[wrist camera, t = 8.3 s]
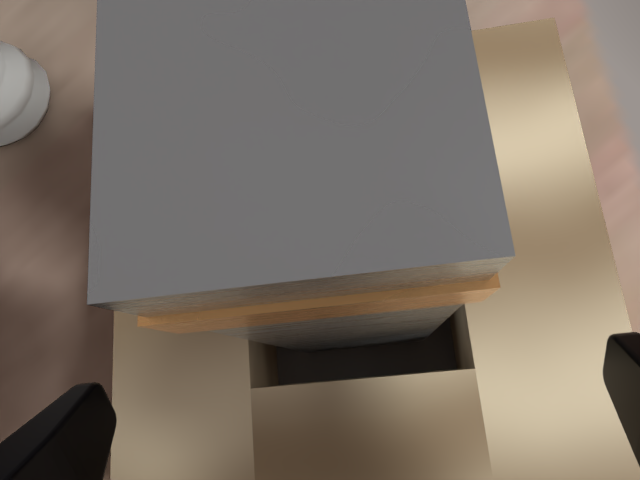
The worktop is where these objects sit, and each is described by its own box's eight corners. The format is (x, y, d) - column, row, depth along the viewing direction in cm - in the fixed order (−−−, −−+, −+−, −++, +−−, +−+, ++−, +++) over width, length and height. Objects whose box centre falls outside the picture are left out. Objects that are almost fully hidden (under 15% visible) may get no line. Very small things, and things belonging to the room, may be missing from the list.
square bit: (426, 343, 17) (529, 265, 4) (303, 355, 17) (76, 316, 5) (409, 224, 18) (453, -111, 5) (294, 238, 18) (90, -42, 6)
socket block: (608, 491, 15) (681, 531, 12) (172, 518, 17) (108, 561, 13) (521, 88, 19) (554, 17, 15) (169, 140, 21) (118, 87, 17)
